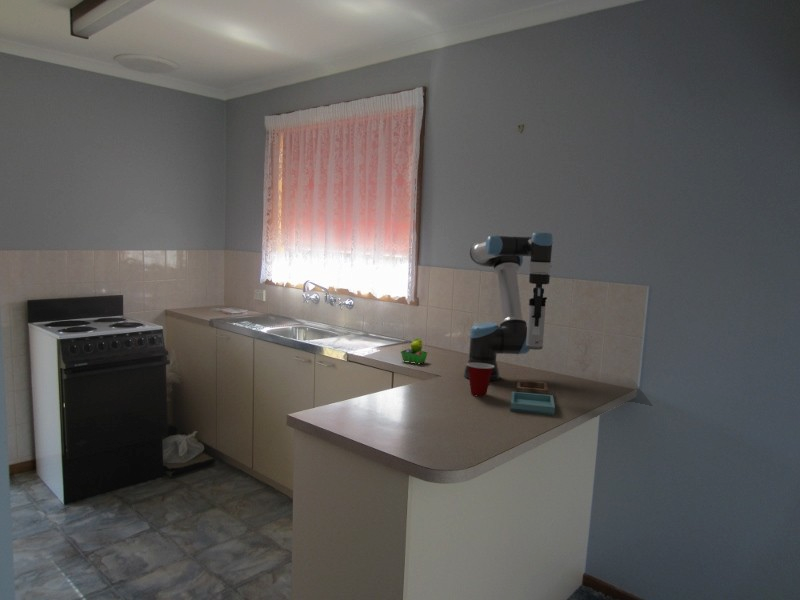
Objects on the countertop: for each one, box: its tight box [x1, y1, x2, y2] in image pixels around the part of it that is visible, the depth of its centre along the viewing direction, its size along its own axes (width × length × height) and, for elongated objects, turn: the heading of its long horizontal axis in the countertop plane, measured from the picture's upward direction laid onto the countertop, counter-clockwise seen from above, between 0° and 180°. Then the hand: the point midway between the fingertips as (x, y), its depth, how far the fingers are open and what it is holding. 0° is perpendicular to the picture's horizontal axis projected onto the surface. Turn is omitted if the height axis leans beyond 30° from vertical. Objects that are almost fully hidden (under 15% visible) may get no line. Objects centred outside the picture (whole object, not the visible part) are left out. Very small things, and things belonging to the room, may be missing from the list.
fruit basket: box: [400, 337, 429, 364], centre depth 268 cm, size 11×9×11 cm
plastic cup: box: [465, 362, 494, 397], centre depth 218 cm, size 11×11×12 cm
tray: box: [509, 391, 556, 416], centre depth 205 cm, size 15×15×3 cm
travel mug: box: [526, 296, 548, 351], centre depth 217 cm, size 6×7×20 cm
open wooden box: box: [516, 379, 549, 395], centre depth 220 cm, size 12×12×4 cm
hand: (535, 332), depth 217 cm, fingers closed on travel mug, 6 cm apart
